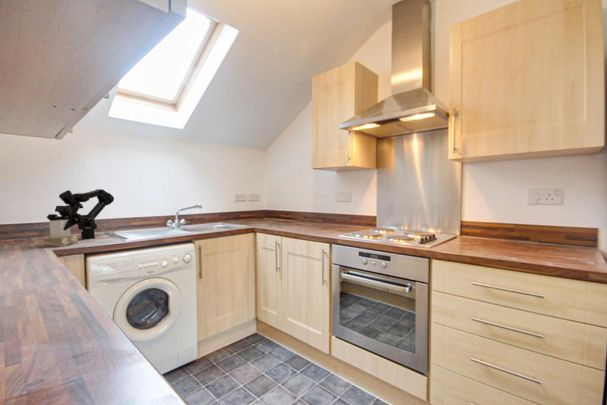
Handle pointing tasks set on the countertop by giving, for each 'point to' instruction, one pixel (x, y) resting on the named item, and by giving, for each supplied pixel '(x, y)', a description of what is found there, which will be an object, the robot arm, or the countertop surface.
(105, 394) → the countertop surface
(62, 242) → the beech crate
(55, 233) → the grey tote
